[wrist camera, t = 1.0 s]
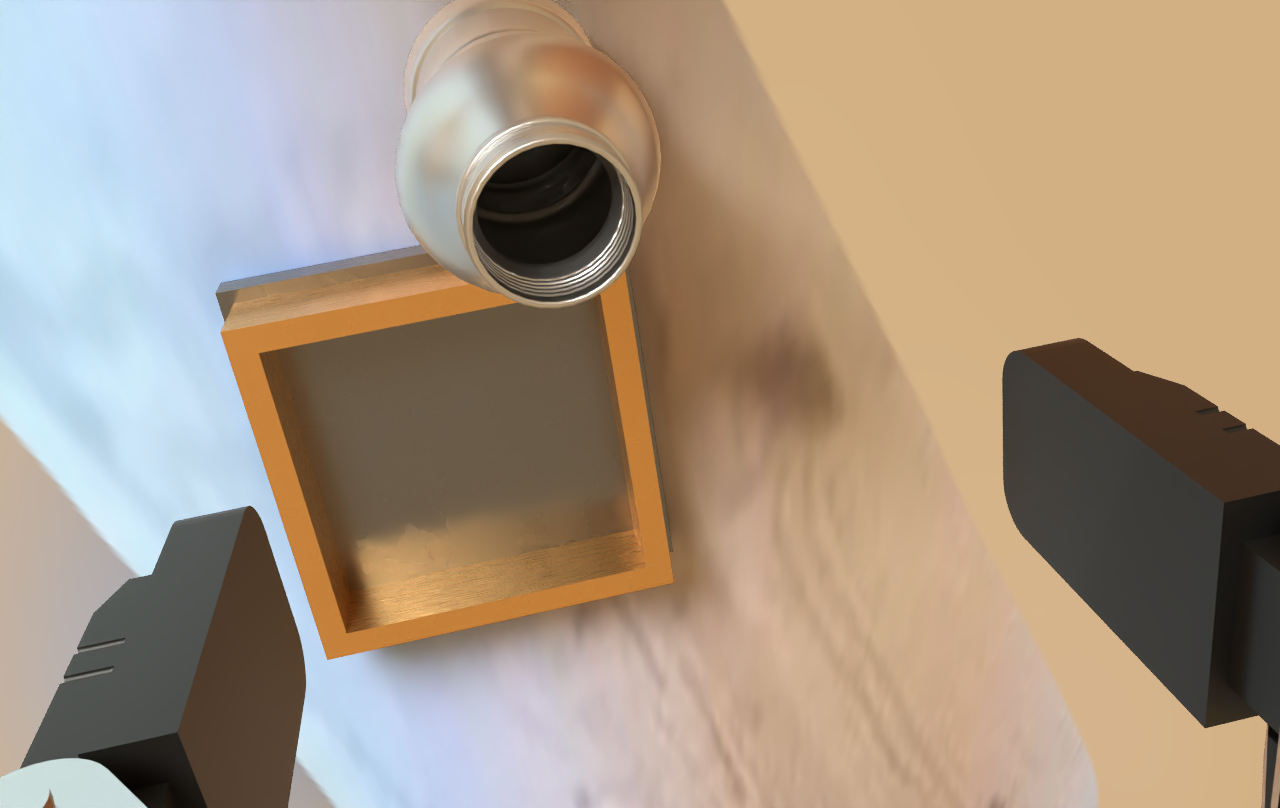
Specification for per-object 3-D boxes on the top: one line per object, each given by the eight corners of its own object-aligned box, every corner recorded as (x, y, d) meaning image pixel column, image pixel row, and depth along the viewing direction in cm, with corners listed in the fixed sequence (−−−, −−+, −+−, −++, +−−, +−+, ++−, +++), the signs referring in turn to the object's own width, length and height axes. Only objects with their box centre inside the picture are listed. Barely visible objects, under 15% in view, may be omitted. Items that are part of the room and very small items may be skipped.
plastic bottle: (624, 96, 42) (774, 249, 24) (477, 204, 43) (517, 432, 25) (519, -59, 39) (602, -17, 21) (364, 59, 40) (317, 197, 22)
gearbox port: (220, 282, 42) (201, 321, 39) (616, 208, 44) (634, 238, 40) (326, 612, 49) (318, 672, 45) (667, 537, 50) (687, 590, 46)
